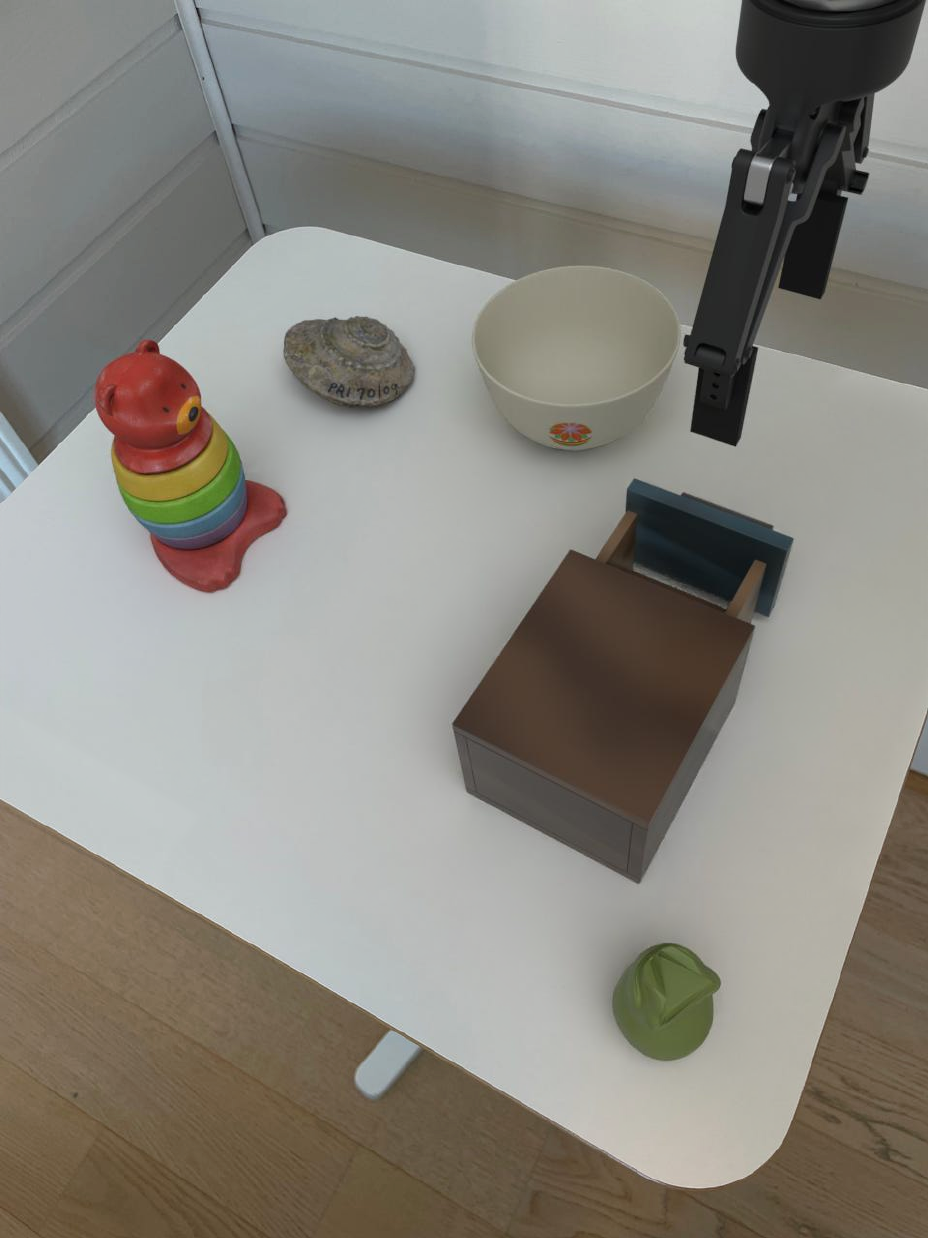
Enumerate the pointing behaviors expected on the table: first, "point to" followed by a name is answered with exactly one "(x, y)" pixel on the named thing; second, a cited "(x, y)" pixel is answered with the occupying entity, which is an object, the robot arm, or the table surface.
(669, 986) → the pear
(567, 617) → the cabinet
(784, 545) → the drawer
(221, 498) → the stacking bear
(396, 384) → the fossilized seashell
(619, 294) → the bowl
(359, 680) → the table surface
